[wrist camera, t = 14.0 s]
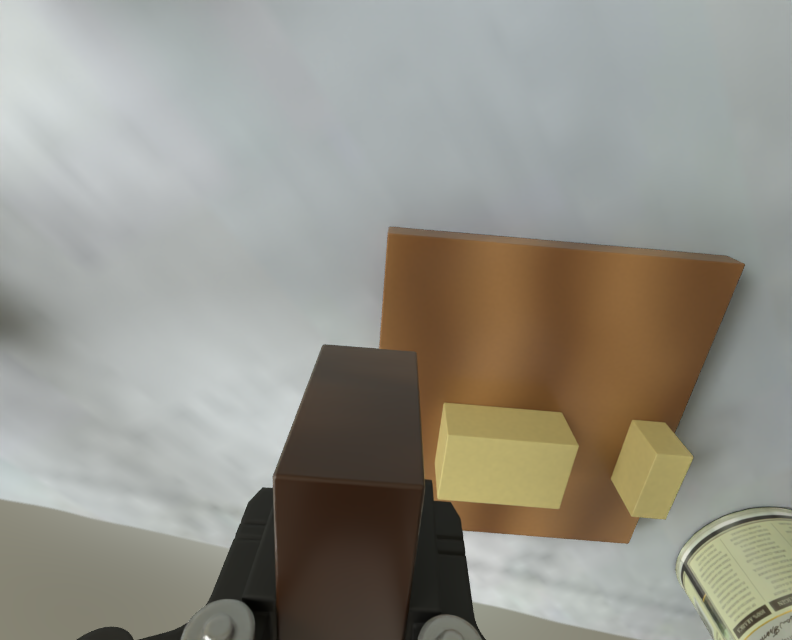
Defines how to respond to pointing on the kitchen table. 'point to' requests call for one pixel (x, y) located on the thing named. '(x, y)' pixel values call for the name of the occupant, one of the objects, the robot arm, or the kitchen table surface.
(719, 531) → the coffee can
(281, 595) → the knife
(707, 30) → the kitchen table surface
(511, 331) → the board
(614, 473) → the butter slice
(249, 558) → the robot arm
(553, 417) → the butter
